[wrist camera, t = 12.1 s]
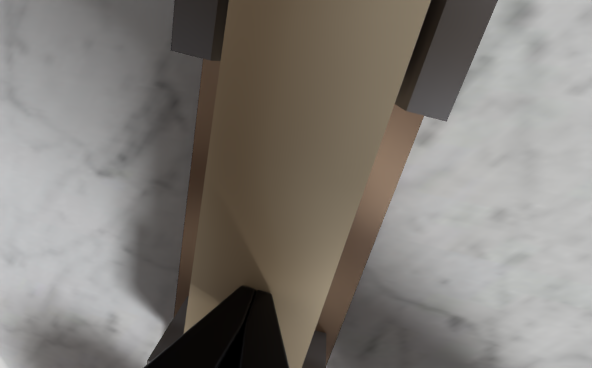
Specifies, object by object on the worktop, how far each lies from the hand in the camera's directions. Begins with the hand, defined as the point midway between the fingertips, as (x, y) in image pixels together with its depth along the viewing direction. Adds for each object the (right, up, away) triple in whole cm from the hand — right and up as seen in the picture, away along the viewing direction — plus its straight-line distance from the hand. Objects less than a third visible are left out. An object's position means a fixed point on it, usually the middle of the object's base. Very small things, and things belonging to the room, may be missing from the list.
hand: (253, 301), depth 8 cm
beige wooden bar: (+1, +2, +5) cm, 5 cm away
